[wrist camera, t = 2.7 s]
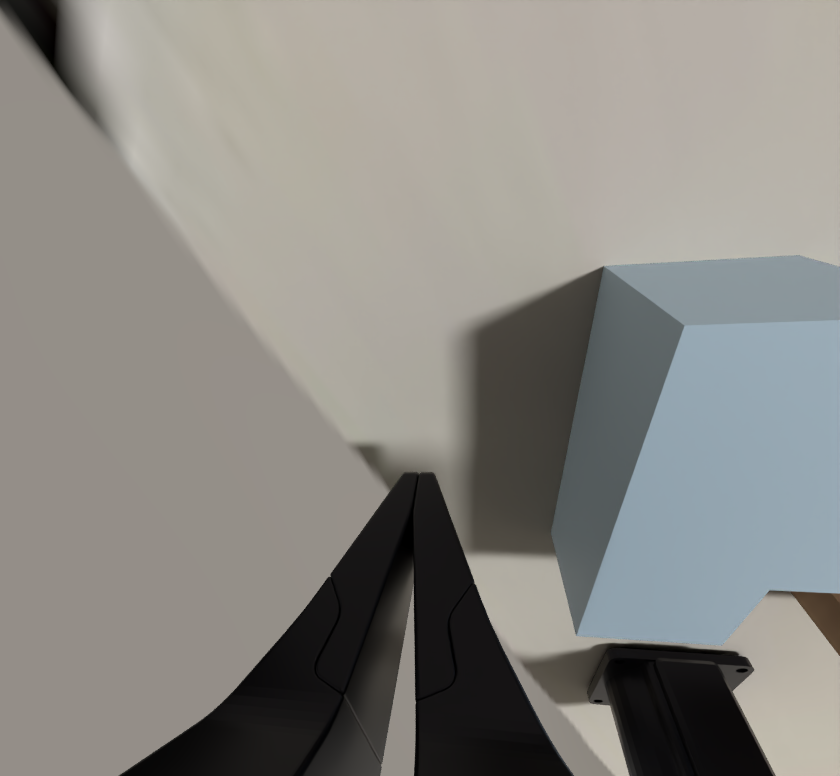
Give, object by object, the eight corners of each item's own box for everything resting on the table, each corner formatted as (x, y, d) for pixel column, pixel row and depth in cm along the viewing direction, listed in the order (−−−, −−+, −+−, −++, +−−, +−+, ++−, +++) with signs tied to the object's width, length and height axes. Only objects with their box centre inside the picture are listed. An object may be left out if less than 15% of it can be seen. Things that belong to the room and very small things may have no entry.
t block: (879, 543, 12) (1012, 664, 9) (550, 532, 13) (576, 635, 11) (1203, 232, 7) (1766, 288, 4) (603, 265, 8) (684, 325, 5)
